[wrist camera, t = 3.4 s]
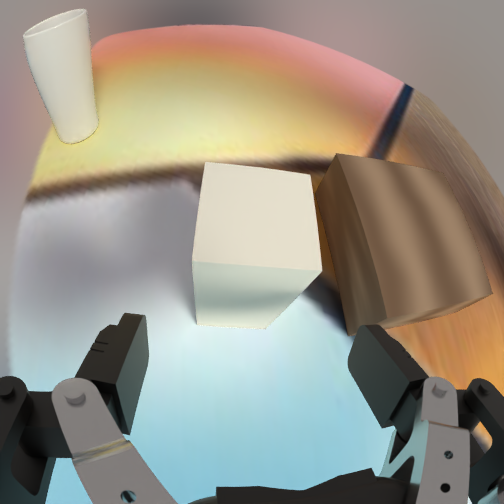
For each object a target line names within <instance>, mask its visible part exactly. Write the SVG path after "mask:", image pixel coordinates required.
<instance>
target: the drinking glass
mask: <svg viewBox="0 0 504 504" xmlns="http://www.w3.org/2000/svg"><path fill="white" fill-rule="evenodd" d="M23 42H24V48H25V53H26V57H27V61H28V65H29V68H30V71H31V73H32V76H33V79H34V81H35V84H36V86H37V88H38V91H39V93H40V95H41V98H42V100H43V102H44V104H45V107H46V109H47V111H48V113H49V116H50V118H51V120H52V122H53V124H54V126H55V129H56V131H57V134H58V137H59V139H60V140H61V141H62V142H64V143H67V144H73V143H78V142H81V141H83V140H85V139H86V138H88V137H89V136H91V135H92V134H93V133H94V132H95V130H96V129H97V127H98V124H99V118H98V114H97V110H96V103H95V94H94V84H93V72H92V54H91V39H90V30H89V22H88V16H87V10H86V9H76V10H72V11H68V12H64V13H61V14H58V15H56V16H53V17H51V18H48V19H46V20H44V21H42V22H40V23H38V24H37V25H35V26H33V27H32V28H30V29H29V30H27V31H26V32H25V33H24V35H23Z"/></svg>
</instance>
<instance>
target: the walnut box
mask: <svg viewBox="0 0 504 504" xmlns="http://www.w3.org/2000/svg"><path fill="white" fill-rule="evenodd" d="M315 195H316V198H317V202H318V206H319V209H320V213H321V217H322V220H323V224H324V228H325V232H326V236H327V240H328V244H329V248H330V252H331V256H332V261H333V265H334V269H335V274H336V278H337V283H338V287H339V292H340V297H341V302H342V307H343V312H344V317H345V322H346V327H347V333H348V336H353V335H356V333H357V331H358V328H359V327H360V326H361V325H374V324H378V325H380V326H381V327H382V328H383V329H384V330H385V329H390V328H394V327H399V326H404V325H408V324H413V323H417V322H421V321H425V320H429V319H433V318H437V317H441V316H445V315H448V314H452V313H455V312H458V311H460V310H462V309H464V308H466V307H468V306H470V305H472V304H474V303H476V302H478V301H480V300H482V299H484V298H486V297H488V296H489V295H491V294H493V293H492V290H491V286H490V283H489V279H488V276H487V273H486V270H485V267H484V264H483V261H482V258H481V255H480V253H479V250H478V247H477V245H476V242H475V240H474V237H473V235H472V232H471V230H470V227H469V225H468V223H467V220H466V218H465V216H464V214H463V211H462V209H461V207H460V205H459V203H458V201H457V199H456V197H455V195H454V193H453V191H452V189H451V187H450V185H449V183H448V181H447V179H446V177H445V175H444V173H442V172H438V171H433V170H429V169H425V168H420V167H415V166H410V165H405V164H400V163H395V162H390V161H384V160H378V159H372V158H366V157H359V156H352V155H345V154H337V153H336V155H335V157H334V159H333V161H332V163H331V164H330V166H329V168H328V170H327V172H326V174H325V176H324V178H323V180H322V181H321V183H320V185H319V187H318V189H317V191H316V193H315Z"/></svg>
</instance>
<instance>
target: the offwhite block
mask: <svg viewBox="0 0 504 504" xmlns="http://www.w3.org/2000/svg"><path fill="white" fill-rule="evenodd" d="M192 271H193V285H194V297H195V308H196V319H197V325H199V326H213V327H228V328H247V329H266V328H267V327H268V326H269V325H270V324H271V323H272V322H273V321H274V320H275V319H276V318H277V317H278V316H279V315H280V314H281V313H282V312H283V311H284V310H285V309H286V308H287V307H288V306H289V305H290V304H291V303H292V302H293V301H294V300H295V299H296V298H297V297H298V296H299V295H300V294H301V293H302V292H303V291H304V290H305V289H306V288H307V287H308V285H309V284H310V283H311V282H312V281H313V280H314V279H315V278H316V277H317V276H318V275H319V274H320V273H321V272H322V264H321V254H320V245H319V236H318V227H317V219H316V212H315V204H314V197H313V190H312V183H311V176H310V175H308V174H302V173H295V172H288V171H282V170H274V169H267V168H259V167H250V166H242V165H232V164H222V163H211V162H205V168H204V174H203V180H202V187H201V193H200V200H199V207H198V215H197V222H196V230H195V238H194V246H193V254H192Z"/></svg>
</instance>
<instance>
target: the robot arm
mask: <svg viewBox="0 0 504 504" xmlns="http://www.w3.org/2000/svg"><path fill="white" fill-rule="evenodd" d="M148 359H149V348H148V336H147V323H146V317H145V315H139V314H131V313H124V314H123V316H122V318H121V320H120V322H119V324H118V325H117V326H116V325H109V326H107V327H106V328H104V329H103V330H102V331H100V333H99V334H98V336H97V338H96V339H95V343H93V345H92V346H91V348H90V350H89V352H88V354H87V355H86V357H85V359H84V361H83V363H82V364H81V366H80V368H79V370H78V372H77V374H76V376H75V377H74V378H70V379H66V380H64V381H62V382H60V383H59V384H58V385H56V387H55V388H54V390H53V391H52V392H37V391H28V390H27V387H26V385H25V383H24V382H23V381H22V380H21V379H19V378H17V377H13V376H5V377H2V378H0V504H45V502H46V497H47V493H48V488H49V484H50V480H51V476H52V472H53V469H54V465H55V461H56V458H72V462H73V465H74V467H75V469H76V471H77V474H78V476H79V478H80V480H81V482H82V484H83V486H84V488H85V490H86V492H87V493H88V495H89V497H90V499H91V501H92V503H93V504H178V503H177V502H176V501H175V500H174V499H173V498H172V496H171V495H170V494H169V493H168V492H167V490H166V489H165V488H164V487H163V485H162V484H161V483H160V482H159V480H158V479H157V478H156V476H155V475H154V474H153V472H152V471H151V470H150V468H149V467H148V466H147V464H146V463H145V461H144V460H143V459H142V457H141V456H140V454H139V453H138V451H137V450H136V448H135V447H134V446H133V444H132V443H131V442H130V441H129V440H128V441H127V440H126V439H125V438H124V436H123V434H127V435H130V433H131V428H132V424H133V420H134V416H135V412H136V408H137V404H138V400H139V396H140V392H141V388H142V385H143V381H144V377H145V374H146V370H147V366H148ZM348 369H349V371H350V373H351V375H352V377H353V378H354V380H355V382H356V384H357V385H358V387H359V389H360V391H361V392H362V394H363V396H364V398H365V399H366V401H367V403H368V405H369V406H370V408H371V410H372V412H373V413H374V415H375V417H376V419H377V421H378V422H379V424H380V426H381V428H386V427H390V426H395V428H396V429H395V430H394V431H393V433H392V436H391V440H390V444H389V447H388V451H387V455H386V458H385V462H384V465H383V468H382V471H381V473H380V475H379V476H375V475H374V472H373V470H372V468H369V469H365V470H361V471H357V472H353V473H349V474H344V475H340V476H337V477H335V478H333V479H330V480H328V481H326V482H323V483H321V484H319V485H316V486H314V487H311V488H309V489H306V490H287V489H277V488H269V487H261V486H251V487H216V496H212V497H207V498H203V499H199V500H196V501H194V502H191V503H188V504H467V501H468V496H469V498H470V500H471V502H472V504H504V397H503V396H502V395H501V393H500V392H499V391H498V390H497V389H496V388H495V387H494V385H493V384H491V383H490V382H489V381H487V380H484V379H481V378H476V379H473V380H472V381H471V383H470V385H469V386H468V388H467V390H456V389H455V387H454V386H453V385H452V384H451V383H450V382H449V381H447V380H445V379H443V378H440V377H430V378H429V376H428V375H427V374H426V373H425V372H424V371H423V369H422V368H421V367H420V366H419V365H418V363H417V362H416V361H415V360H414V359H413V358H411V355H410V354H409V353H408V352H407V351H406V350H405V348H404V347H403V346H402V345H401V344H400V343H399V342H398V341H396V340H395V339H393V338H392V337H390V336H389V335H388V334H387V332H386V331H385V330H384V329H383V328H382V327H381V326H380V325H378V324H374V325H361V326H360V327H359V328H358V331H357V333H356V336H355V339H354V342H353V345H352V348H351V351H350V354H349V356H348ZM480 421H481V423H482V424H483V425H484V427H485V428H486V430H487V431H488V432H489V434H490V435H491V437H492V446H491V448H490V449H489V450H488V451H487V452H486V453H485V454H484V452H483V451H482V449H481V447H480V446H479V444H478V443H477V441H476V440H475V438H474V437H473V435H472V434H471V432H472V431H473V430H474V428H475V427H476V426H477V425H478V423H479V422H480Z"/></svg>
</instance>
